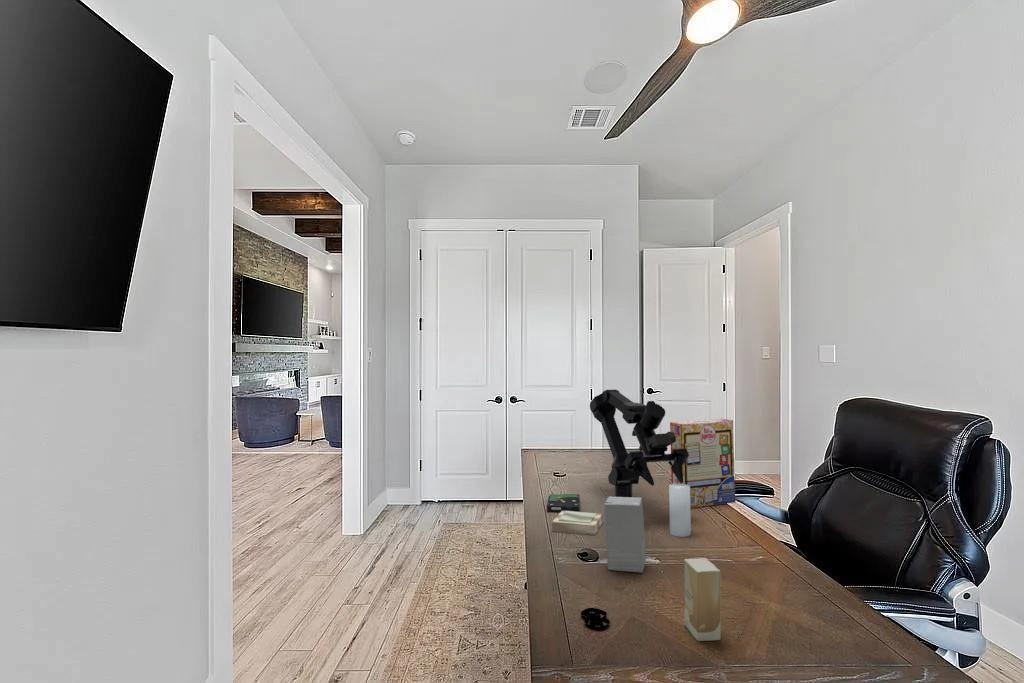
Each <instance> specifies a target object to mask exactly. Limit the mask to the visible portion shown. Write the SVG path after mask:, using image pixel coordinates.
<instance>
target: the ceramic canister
mask: <svg viewBox="0 0 1024 683" xmlns="http://www.w3.org/2000/svg"><path fill="white" fill-rule="evenodd" d="M668 496H669V497H668V498H669V500H668V504H669V505H668V506H669V508H668V509H669V535H671V536H674V537H681V538H686V537H690V536H691V535H692V534H691V533H692V532H691V531H692V528H691V527H692V525H691V523H692V522H691V508H690V486H689V485H686V484H672V483H671V484H669V485H668Z"/></svg>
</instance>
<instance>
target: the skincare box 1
mask: <svg viewBox="0 0 1024 683" xmlns="http://www.w3.org/2000/svg"><path fill="white" fill-rule="evenodd" d="M603 505H604V507H603V508H604V520H605V542H606V544H605V545H606V557H607V558H606V560H607V562H606V563H607V570H608V571H614V572H615V571H618V572H629V573H641V574H642V573H644V570H645V567H646V566H645V565H646V562H647V561H646V559H647V558H646V557H647V556H646V541H645V540H646V539H645V524H644V507H643V506H644V505H643V497H634V496H632V497H615V496H610V495H609V496H608V497H607V498H606V501H605V502H604V504H603Z"/></svg>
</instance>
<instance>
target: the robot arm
mask: <svg viewBox="0 0 1024 683" xmlns="http://www.w3.org/2000/svg"><path fill="white" fill-rule="evenodd" d="M589 409H590V411H591V413H592V416H593V417H594V419H596V420H597V421H598V422H599V423H600V424H601V426H602V429H603V432H604V435H605V438H606V441H607V444H608V447H609V449H610V452H611V455H612V464H611V471H610V472H609V473H608V476H607V479H608V483H609V484H611V485H612V486H614V497H633V485H638V484H639V482H640V477H641V478H642V479H643V480H644V481H646V482H647V483H648V484H650V486H652V487H653V486H654V485H655V482H654V478H653V477H652V474H651V471H650V469H649V467H648V463H661V462H668V464H669V466H670V469H672V471H673V473H674V474H675V476H676V477H677V479H678V481H679V482H680V483H683V471H682V465H683V464H684V463H685V461H686V460H687V458H688V457H689V453H688V451H687V449H685V448H679V449H673V451H672V452H671V451H670V453H665V452H667V451H668V447H669V446H671V445H672V443H674V442H676V437H675V434H674V433H673V432H670V431H667V432H666V433H656V431H655V430H657V429H658V428H659V427H660V425H661V423H662V421H663V419H664V418H665V416H666V410H665V408H663V406H662V405H660V404H658V403H656V402H655V401H654V400H648V401H647V403H646V404H644V403H640V402H634V401H632V400H630V399H629V398H628V397H627V396H625V395H623V394H622V393H621V392H620V391H619V390H618V389H606V390H603V391H602V392H601V393H599V394H598V395H596V396H594V398H593V399H592V400H591V401H590V403H589ZM617 410H618V411H620V413H621V414H622V419H623V420H624V421H625V423H627V425H633V424H635V425H634V427H633V430H632V433H631V436H632V437H636V439H637V441H638V443H639V444H638V445H639V447H638V449H639V450H636V451H634V450H633V451H629V453H628V451H627V448H626V446H625V443H624V441H623V438H622V434H621V433H620V430H619V427H618V424H617V422H616V419H615V415H616V411H617Z"/></svg>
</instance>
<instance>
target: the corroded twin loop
mask: <svg viewBox="0 0 1024 683" xmlns="http://www.w3.org/2000/svg"><path fill="white" fill-rule="evenodd" d="M607 614H608V613H607V611H605V610H603V609H600V608H597V607H588V608H584V610H582V611H581V612H580V615H581V616H582V619H583V622H584V624H585V625H586V626H587V627H588V628H589V629H591V630H596V631H602V630H605V629H606V628H607V627H608V626H609V625H610V623H611V621H610V619H609V618H606V616H607Z"/></svg>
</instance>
